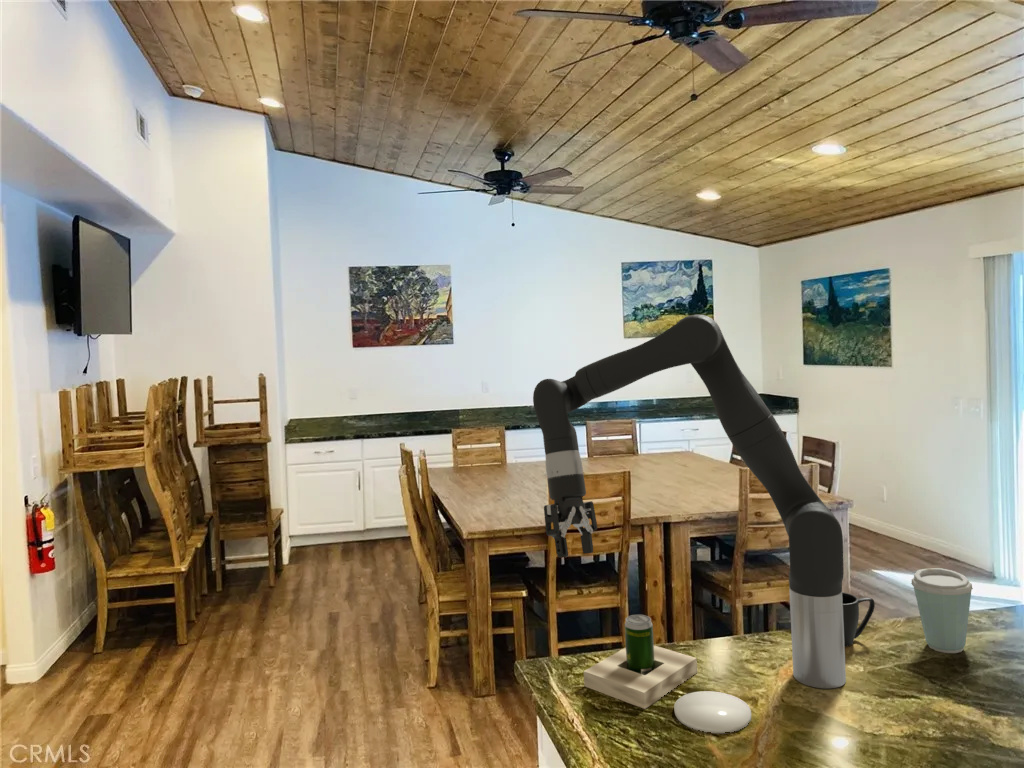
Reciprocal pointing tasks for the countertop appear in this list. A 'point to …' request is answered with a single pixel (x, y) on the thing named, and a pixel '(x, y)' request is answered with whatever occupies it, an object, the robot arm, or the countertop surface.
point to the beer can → (639, 644)
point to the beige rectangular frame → (640, 676)
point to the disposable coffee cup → (943, 607)
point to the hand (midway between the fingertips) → (576, 555)
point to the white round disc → (712, 712)
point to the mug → (854, 616)
